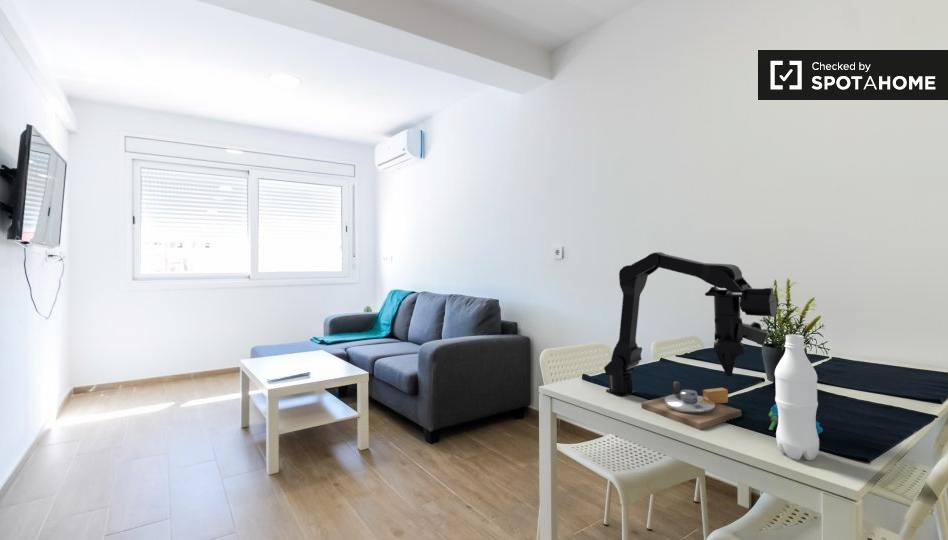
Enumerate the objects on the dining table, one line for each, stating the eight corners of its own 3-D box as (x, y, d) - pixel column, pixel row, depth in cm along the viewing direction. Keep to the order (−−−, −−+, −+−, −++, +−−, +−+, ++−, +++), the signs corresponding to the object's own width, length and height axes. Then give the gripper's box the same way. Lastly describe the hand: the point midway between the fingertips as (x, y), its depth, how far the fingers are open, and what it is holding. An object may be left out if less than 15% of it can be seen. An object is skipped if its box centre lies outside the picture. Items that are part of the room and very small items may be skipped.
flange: (684, 416, 111) (683, 401, 111) (655, 401, 123) (655, 387, 123) (742, 408, 114) (742, 394, 114) (709, 394, 126) (709, 381, 126)
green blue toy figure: (834, 434, 97) (804, 405, 96) (823, 457, 95) (793, 428, 94) (787, 423, 107) (760, 397, 106) (776, 443, 106) (748, 418, 105)
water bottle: (821, 466, 87) (818, 340, 86) (777, 458, 90) (774, 338, 90) (817, 451, 93) (814, 333, 92) (775, 445, 97) (772, 331, 96)
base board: (641, 407, 123) (640, 388, 123) (681, 397, 130) (680, 378, 129) (699, 429, 107) (698, 407, 106) (741, 416, 113) (740, 395, 113)
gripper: (768, 320, 100) (770, 388, 101) (761, 309, 117) (763, 367, 117) (712, 319, 106) (714, 383, 106) (714, 308, 122) (715, 364, 123)
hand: (729, 374), depth 113 cm, fingers open, 3 cm apart
